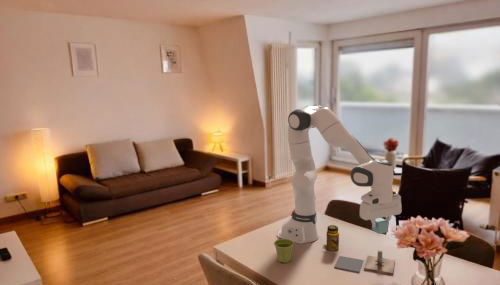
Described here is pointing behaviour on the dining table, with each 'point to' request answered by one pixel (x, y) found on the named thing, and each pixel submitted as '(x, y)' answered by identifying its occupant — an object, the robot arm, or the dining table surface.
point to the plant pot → (284, 249)
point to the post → (379, 264)
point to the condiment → (332, 240)
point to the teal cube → (381, 226)
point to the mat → (348, 264)
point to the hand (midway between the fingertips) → (380, 225)
